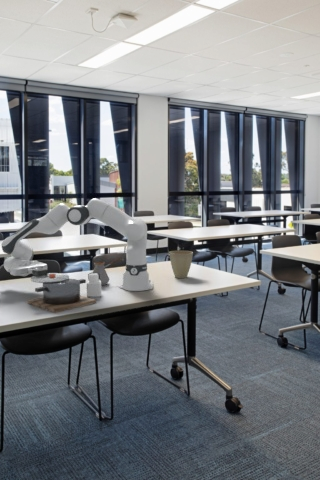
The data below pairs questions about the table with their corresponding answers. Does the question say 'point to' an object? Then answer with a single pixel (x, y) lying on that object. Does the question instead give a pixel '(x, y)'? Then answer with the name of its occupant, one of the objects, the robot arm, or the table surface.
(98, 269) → the coffee pot
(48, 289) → the cooker pot
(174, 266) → the plant pot
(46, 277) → the lid
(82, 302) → the trivet
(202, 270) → the table surface
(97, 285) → the medicine bottle
